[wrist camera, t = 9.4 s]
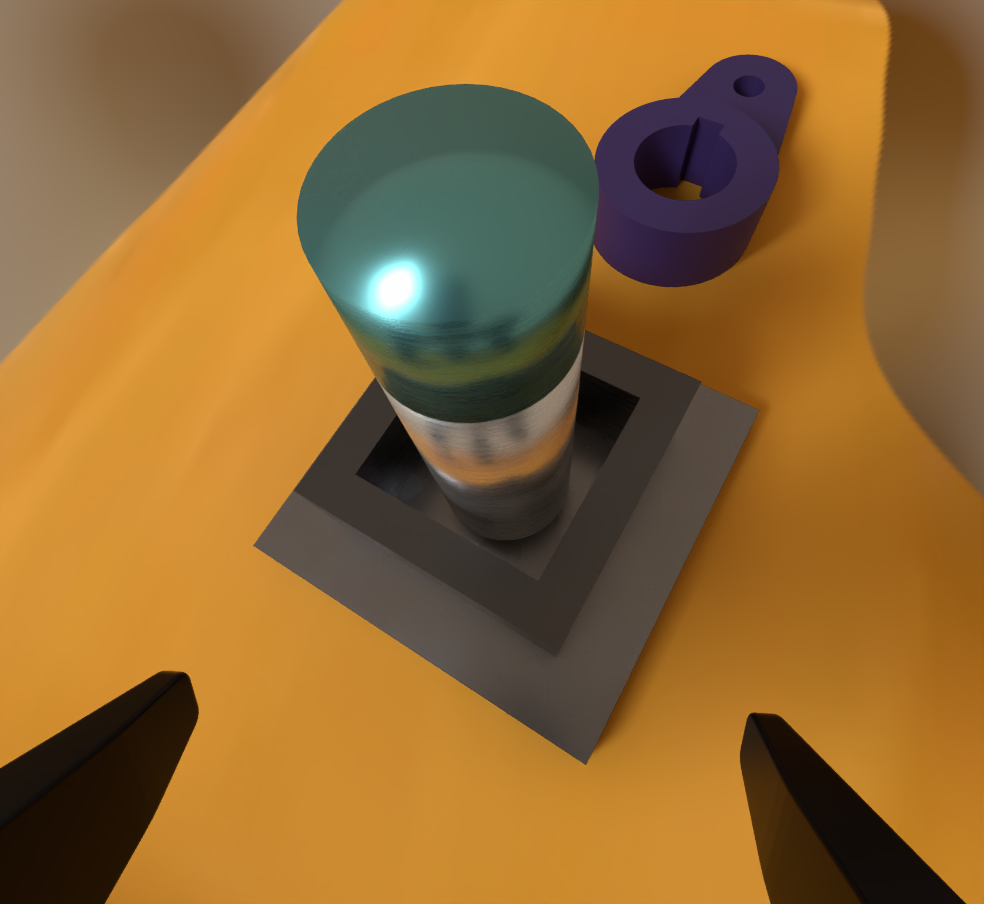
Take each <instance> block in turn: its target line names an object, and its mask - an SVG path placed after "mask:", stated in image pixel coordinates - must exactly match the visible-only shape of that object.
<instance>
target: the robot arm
mask: <svg viewBox="0 0 984 904" xmlns="http://www.w3.org/2000/svg"><path fill="white" fill-rule="evenodd" d="M198 714H199V708H198V704H197V700H196V697H195V694H194V690H193V687H192V683H191V680H190V677H189V676H188V675H187V674H186V673H184V672H177V671H161V672H159V673H157V674H155V675H153V676H152V677H150V678H148V679H147V680H145V681H143V682H142V683H140V684H138V685H137V686H135V687H133V688H132V689H130V690H129V691H127V692H125V693H124V694H122V695H120V696H119V697H117V698H115V699H114V700H112V701H110V702H109V703H107V704H105V705H104V706H102V707H100V708H99V709H97V710H96V711H94V712H92V713H91V714H89V715H87V716H86V717H84V718H82V719H81V720H79V721H77V722H76V723H74V724H72V725H71V726H69V727H67V728H66V729H64V730H62V731H61V732H59V733H58V734H56V735H54V736H53V737H51V738H49V739H48V740H46V741H44V742H43V743H41V744H39V745H38V746H36V747H34V748H33V749H31V750H29V751H28V752H26V753H25V754H23V755H21V756H20V757H18V758H16V759H15V760H13V761H11V762H10V763H8V764H6V765H5V766H3V767H1V768H0V904H105V902H106V901H107V899H108V897H109V895H110V894H111V892H112V890H113V888H114V887H115V885H116V883H117V881H118V879H119V878H120V876H121V874H122V872H123V871H124V869H125V867H126V865H127V864H128V862H129V860H130V858H131V856H132V855H133V853H134V851H135V849H136V848H137V846H138V844H139V842H140V841H141V839H142V837H143V835H144V833H145V832H146V830H147V828H148V826H149V824H150V822H151V820H152V819H153V817H154V815H155V813H156V811H157V809H158V806H159V804H160V802H161V800H162V798H163V796H164V794H165V791H166V789H167V787H168V785H169V783H170V780H171V778H172V776H173V774H174V772H175V769H176V767H177V765H178V763H179V761H180V758H181V756H182V754H183V752H184V750H185V747H186V745H187V743H188V741H189V739H190V736H191V734H192V732H193V730H194V728H195V725H196V723H197V719H198ZM740 764H741V770H742V775H743V780H744V785H745V790H746V795H747V800H748V805H749V810H750V815H751V820H752V825H753V830H754V835H755V840H756V845H757V850H758V855H759V860H760V865H761V869H762V874H763V878H764V882H765V885H766V889H767V893H768V896H769V900H770V903H771V904H966V903H965V902H964V901H963V900H962V899H961V898H960V897H959V896H958V895H957V894H956V893H955V892H954V891H953V890H952V889H951V888H950V887H949V886H948V885H947V884H946V883H945V882H944V881H943V880H942V879H941V878H940V877H939V876H938V875H937V874H936V873H935V872H934V871H933V870H932V869H931V868H930V867H929V866H928V865H927V864H926V863H925V862H924V861H923V860H922V859H921V858H920V857H919V856H918V855H917V854H916V853H915V852H914V850H913V849H912V848H911V847H910V846H909V845H908V844H907V843H906V842H905V841H904V840H903V839H902V838H901V837H900V836H899V835H898V834H897V833H896V832H895V831H894V830H893V829H892V828H891V827H890V826H889V825H888V824H887V823H886V822H885V821H884V820H883V819H882V818H881V817H880V816H879V815H878V814H877V813H876V812H875V811H874V810H873V809H872V808H871V807H870V806H869V805H868V804H867V803H866V802H865V801H864V800H863V799H862V798H861V797H860V796H859V795H858V794H857V793H856V792H855V791H854V790H853V789H852V788H851V787H850V786H849V785H848V784H847V783H846V782H845V781H844V780H843V779H842V778H841V777H840V776H839V775H838V774H837V773H836V772H835V771H834V770H833V769H832V768H831V767H830V766H829V765H828V764H827V763H826V762H825V761H824V760H823V759H822V758H821V757H820V756H819V755H818V754H817V753H816V752H815V751H814V749H813V748H812V747H811V746H810V745H809V744H808V743H807V742H806V741H805V740H804V739H803V738H802V737H801V736H800V735H799V734H798V733H797V732H796V731H795V730H794V729H793V728H792V727H791V726H790V725H789V724H788V723H787V722H786V721H785V720H784V719H783V718H782V717H780V716H778V715H776V714H768V713H751V714H749V716H748V718H747V721H746V726H745V731H744V735H743V740H742V745H741V750H740Z"/></svg>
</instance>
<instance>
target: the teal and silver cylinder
mask: <svg viewBox="0 0 984 904" xmlns="http://www.w3.org/2000/svg"><path fill="white" fill-rule="evenodd" d="M598 198H599V180H598V174H597V169H596V164H595V161H594V159H593V156H592V153H591V151H590V149H589V147H588V145H587V144H586V142H585V140H584V138H583V137H582V136H581V134H580V133H579V132H578V131H577V129H576V128H575V127H574V126H573V125H572V124H571V123H570V122H569V121H568V120H567V119H566V118H565V117H564V116H563V115H561V114H560V113H559V112H557V111H556V110H554V109H553V108H551V107H550V106H549V105H547V104H545V103H543V102H541V101H539V100H537V99H535V98H533V97H530V96H528V95H525V94H522V93H520V92H517V91H513V90H509V89H505V88H501V87H494V86H488V85H474V84H457V85H444V86H437V87H430V88H425V89H421V90H417V91H413V92H410V93H407V94H403V95H400V96H397V97H395V98H392V99H390V100H388V101H385V102H383V103H381V104H379V105H377V106H375V107H373V108H371V109H370V110H368V111H366V112H364V113H363V114H361V115H360V116H358V117H357V118H355V119H354V120H352V121H351V122H350V123H348V124H347V125H346V126H345V127H344V128H342V129H341V130H340V131H339V132H338V133H337V134H336V135H335V136H334V137H333V138H332V139H331V140H330V141H329V142H328V143H327V144H326V145H325V146H324V148H323V149H322V150H321V152H320V153H319V154H318V156H317V157H316V158H315V160H314V162H313V163H312V165H311V167H310V169H309V171H308V172H307V175H306V177H305V180H304V182H303V185H302V187H301V191H300V196H299V200H298V207H297V226H298V234H299V238H300V242H301V245H302V249H303V251H304V253H305V255H306V257H307V259H308V261H309V263H310V265H311V267H312V268H313V270H314V272H315V274H316V275H317V277H318V279H319V280H320V282H321V284H322V286H323V287H324V289H325V291H326V293H327V294H328V296H329V298H330V299H331V301H332V303H333V305H334V306H335V308H336V310H337V312H338V313H339V315H340V317H341V318H342V320H343V322H344V324H345V325H346V327H347V329H348V330H349V332H350V334H351V336H352V337H353V339H354V341H355V343H356V344H357V346H358V348H359V349H360V351H361V353H362V355H363V356H364V358H365V360H366V362H367V363H368V365H369V367H370V368H371V370H372V372H373V374H374V375H375V377H376V379H377V381H378V382H379V384H380V386H381V387H382V389H383V391H384V393H385V394H386V396H387V398H388V399H389V401H390V403H391V405H392V406H393V408H394V410H395V412H396V413H397V415H398V417H399V418H400V420H401V422H402V424H403V425H404V427H405V429H406V431H407V432H408V434H409V436H410V437H411V439H412V441H413V443H414V444H415V446H416V448H417V450H418V451H419V453H420V455H421V456H422V458H423V460H424V462H425V463H426V465H427V467H428V468H429V470H430V472H431V474H432V475H433V477H434V479H435V481H436V482H437V484H438V486H439V487H440V489H441V491H442V493H443V494H444V496H445V498H446V500H447V501H448V503H449V505H450V506H451V508H452V510H453V512H454V513H455V514H456V516H457V517H458V519H459V520H460V521H461V522H462V523H463V524H464V525H465V526H467V527H468V528H469V529H470V530H472V531H474V532H475V533H477V534H479V535H481V536H484V537H487V538H490V539H496V540H517V539H521V538H525V537H528V536H531V535H533V534H535V533H537V532H539V531H540V530H542V529H543V528H545V527H546V526H547V525H548V524H550V523H551V522H552V521H553V520H554V518H555V517H556V516H557V515H558V513H559V512H560V510H561V509H562V507H563V505H564V502H565V500H566V497H567V493H568V487H569V478H570V469H571V459H572V449H573V440H574V430H575V420H576V411H577V401H578V391H579V382H580V372H581V362H582V353H583V343H584V333H585V324H586V314H587V304H588V295H589V285H590V275H591V266H592V256H593V246H594V237H595V227H596V217H597V208H598Z"/></svg>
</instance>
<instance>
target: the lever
mask: <svg viewBox="0 0 984 904" xmlns="http://www.w3.org/2000/svg"><path fill="white" fill-rule="evenodd" d="M796 94H797V82H796V79H795V77H794V76H793V74H792V73H791V71H790V70H789V69H788V68H787V67H785V66H784V65H783V64H781V63H779V62H778V61H776V60H773V59H771V58H768V57H764V56H759V55H737V56H732V57H729V58H726V59H723V60H721V61H719V62H717V63H716V64H714V65H713V66H712V67H711V68H709V69H708V70H707V71H706V72H705V73H704V74H703V75H702V76H701V77H700V78H699V79H698V80H697V81H696V82H695V83H694V84H693V85H692V86H691V87H690V88H689V89H688V90H686V91H685V92H684V93H683V94H682V95H681V96H680V97H679V98H671V99H664V100H659V101H655V102H651V103H648V104H645V105H642V106H640V107H637V108H635V109H633V110H631V111H630V112H628V113H626V114H624V115H623V116H622V117H620V118H619V119H618V120H616V121H615V122H614V123H613V124H612V125H611V126H610V127H609V128H608V129H607V131H606V132H605V134H604V135H603V136H602V138H601V140H600V142H599V144H598V147H597V150H596V154H595V164H596V169H597V174H598V180H599V198H598V208H597V217H596V227H595V237H594V245H595V247H596V249H597V251H598V252H599V254H600V255H601V256H602V257H603V259H604V260H605V261H606V262H607V263H608V264H609V265H610V266H612V267H613V268H614V269H616V270H617V271H618V272H620V273H622V274H623V275H625V276H627V277H629V278H631V279H634V280H636V281H639V282H642V283H646V284H649V285H655V286H663V287H682V286H690V285H695V284H699V283H702V282H705V281H708V280H711V279H713V278H715V277H717V276H719V275H721V274H722V273H724V272H725V271H727V270H728V269H729V268H731V267H732V266H733V265H734V264H735V263H736V262H737V261H738V260H739V259H740V257H741V256H742V255H743V253H744V251H745V250H746V248H747V246H748V244H749V241H750V239H751V237H752V235H753V233H754V231H755V228H756V226H757V224H758V222H759V220H760V218H761V216H762V213H763V211H764V209H765V207H766V205H767V203H768V200H769V198H770V196H771V194H772V192H773V190H774V187H775V185H776V182H777V178H778V173H779V160H778V154H779V151H780V147H781V144H782V141H783V137H784V134H785V131H786V127H787V124H788V121H789V117H790V114H791V111H792V107H793V104H794V101H795V97H796ZM681 180H685V181H688V182H691V183H693V184H696V185H699V186H701V187H702V190H701V193H700V197H701V198H702V199H699V200H690V201H682V200H674V199H669V198H666V197H663V196H660V195H658V194H656V193H654V192H653V191H651V190H652V189H656V188H662V187H674V188H676V187H677V186H678V184H679V183H680V181H681Z"/></svg>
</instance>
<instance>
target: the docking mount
mask: <svg viewBox="0 0 984 904" xmlns="http://www.w3.org/2000/svg"><path fill="white" fill-rule="evenodd" d="M758 412H759V410H758V409H755V408H753V407H751V406H749V405H746V404H744V403H742V402H740V401H737V400H735V399H733V398H731V397H728V396H726V395H724V394H722V393H719V392H717V391H715V390H713V389H710V388H708V387H706V386H704V385H701V381H699V380H697V379H694V378H692V377H690V376H687V375H685V374H683V373H681V372H678V371H676V370H674V369H672V368H669V367H667V366H665V365H663V364H660V363H658V362H656V361H654V360H651V359H649V358H647V357H645V356H642V355H640V354H638V353H636V352H633V351H631V350H629V349H627V348H624V347H622V346H620V345H618V344H615V343H613V342H611V341H609V340H606V339H604V338H602V337H600V336H597V335H595V334H593V333H590V332H588V331H586V330H585V333H584V343H583V353H582V362H581V372H580V382H579V391H578V401H577V411H576V420H575V430H574V440H573V449H572V459H571V469H570V478H569V487H568V493H567V497H566V500H565V502H564V505H563V507H562V509H561V510H560V512H559V513H558V515H557V516H556V517H555V518H554V520H553V521H552V522H551V523H550V524H548V525H547V526H546V527H545V528H543V529H542V530H540V531H539V532H537V533H535V534H533V535H531V536H528V537H525V538H521V539H517V540H496V539H490V538H487V537H484V536H481V535H479V534H477V533H475V532H474V531H472V530H470V529H469V528H468V527H467V526H465V525H464V524H463V523H462V522H461V521H460V520H459V519H458V517H457V516H456V514H455V513H454V512H453V510H452V508H451V506H450V505H449V503H448V501H447V500H446V498H445V496H444V494H443V493H442V491H441V489H440V487H439V486H438V484H437V482H436V481H435V479H434V477H433V475H432V474H431V472H430V470H429V468H428V467H427V465H426V463H425V462H424V460H423V458H422V456H421V455H420V453H419V451H418V450H417V448H416V446H415V444H414V443H413V441H412V439H411V437H410V436H409V434H408V432H407V431H406V429H405V427H404V425H403V424H402V422H401V420H400V418H399V417H398V415H397V413H396V412H395V410H394V408H393V406H392V405H391V403H390V401H389V399H388V398H387V396H386V394H385V393H384V391H383V389H382V387H381V386H380V384H379V382H378V381H377V379H376V377H375V378H374V379H373V381H372V382H371V384H370V385H369V386H368V388H367V389H366V391H365V392H364V393H363V395H362V396H361V397H360V399H359V400H358V402H357V403H356V404H355V406H354V407H353V408H352V410H351V411H350V413H349V414H348V415H347V417H346V418H345V420H344V421H343V422H342V424H341V425H340V426H339V428H338V429H337V431H336V432H335V433H334V435H333V436H332V438H331V439H330V440H329V442H328V443H327V444H326V446H325V447H324V449H323V450H322V451H321V453H320V454H319V456H318V457H317V458H316V460H315V461H314V462H313V464H312V465H311V467H310V468H309V469H308V471H307V472H306V473H305V475H304V476H303V478H302V479H301V480H300V482H299V483H298V485H297V486H296V487H295V489H294V490H293V491H292V493H291V494H290V496H289V497H288V498H287V500H286V501H285V503H284V504H283V505H282V507H281V508H280V509H279V511H278V512H277V514H276V515H275V516H274V518H273V519H272V520H271V522H270V523H269V525H268V526H267V527H266V529H265V530H264V532H263V533H262V534H261V536H260V537H259V538H258V540H257V541H256V543H255V544H254V545H253V546H255V547H256V548H258V549H259V550H261V551H262V552H264V553H265V554H267V555H268V556H270V557H271V558H273V559H274V560H276V561H277V562H279V563H280V564H282V565H283V566H285V567H286V568H288V569H290V570H291V571H293V572H294V573H296V574H297V575H299V576H300V577H302V578H303V579H305V580H306V581H308V582H309V583H311V584H312V585H314V586H315V587H317V588H318V589H320V590H321V591H323V592H324V593H326V594H327V595H329V596H330V597H332V598H333V599H335V600H337V601H338V602H340V603H341V604H343V605H344V606H346V607H347V608H349V609H350V610H352V611H353V612H355V613H356V614H358V615H359V616H361V617H362V618H364V619H365V620H367V621H368V622H370V623H371V624H373V625H374V626H376V627H377V628H379V629H380V630H382V631H384V632H385V633H387V634H388V635H390V636H391V637H393V638H394V639H396V640H397V641H399V642H400V643H402V644H403V645H405V646H406V647H408V648H409V649H411V650H412V651H414V652H415V653H417V654H418V655H420V656H421V657H423V658H424V659H426V660H427V661H429V662H431V663H432V664H434V665H435V666H437V667H438V668H440V669H441V670H443V671H444V672H446V673H447V674H449V675H450V676H452V677H453V678H455V679H456V680H458V681H459V682H461V683H462V684H464V685H465V686H467V687H468V688H470V689H471V690H473V691H475V692H476V693H478V694H479V695H481V696H482V697H484V698H485V699H487V700H488V701H490V702H491V703H493V704H494V705H496V706H497V707H499V708H500V709H502V710H503V711H505V712H506V713H508V714H509V715H511V716H512V717H514V718H515V719H517V720H518V721H520V722H522V723H523V724H525V725H526V726H528V727H529V728H531V729H532V730H534V731H535V732H537V733H538V734H540V735H541V736H543V737H544V738H546V739H547V740H549V741H550V742H552V743H553V744H555V745H556V746H558V747H559V748H561V749H562V750H564V751H565V752H567V753H569V754H570V755H572V756H573V757H575V758H576V759H578V760H579V761H581V762H582V763H584V764H585V765H586V764H587V762H588V760H589V758H590V756H591V754H592V752H593V750H594V747H595V745H596V743H597V741H598V739H599V737H600V735H601V733H602V731H603V729H604V727H605V725H606V723H607V721H608V719H609V717H610V715H611V713H612V711H613V709H614V707H615V705H616V702H617V700H618V698H619V696H620V694H621V692H622V690H623V688H624V686H625V684H626V682H627V680H628V678H629V676H630V674H631V672H632V670H633V668H634V666H635V664H636V662H637V659H638V657H639V655H640V653H641V651H642V649H643V647H644V645H645V643H646V641H647V639H648V637H649V635H650V633H651V631H652V629H653V627H654V625H655V623H656V621H657V619H658V616H659V614H660V612H661V610H662V608H663V606H664V604H665V602H666V600H667V598H668V596H669V594H670V592H671V590H672V588H673V586H674V584H675V582H676V580H677V578H678V576H679V573H680V571H681V569H682V567H683V565H684V563H685V561H686V559H687V557H688V555H689V553H690V551H691V549H692V547H693V545H694V543H695V541H696V539H697V537H698V535H699V533H700V531H701V528H702V526H703V524H704V522H705V520H706V518H707V516H708V514H709V512H710V510H711V508H712V506H713V504H714V502H715V500H716V498H717V496H718V494H719V492H720V490H721V488H722V485H723V483H724V481H725V479H726V477H727V475H728V473H729V471H730V469H731V467H732V465H733V463H734V461H735V459H736V457H737V455H738V453H739V451H740V449H741V447H742V445H743V442H744V440H745V438H746V436H747V434H748V432H749V430H750V428H751V426H752V424H753V422H754V420H755V418H756V416H757V414H758Z"/></svg>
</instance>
